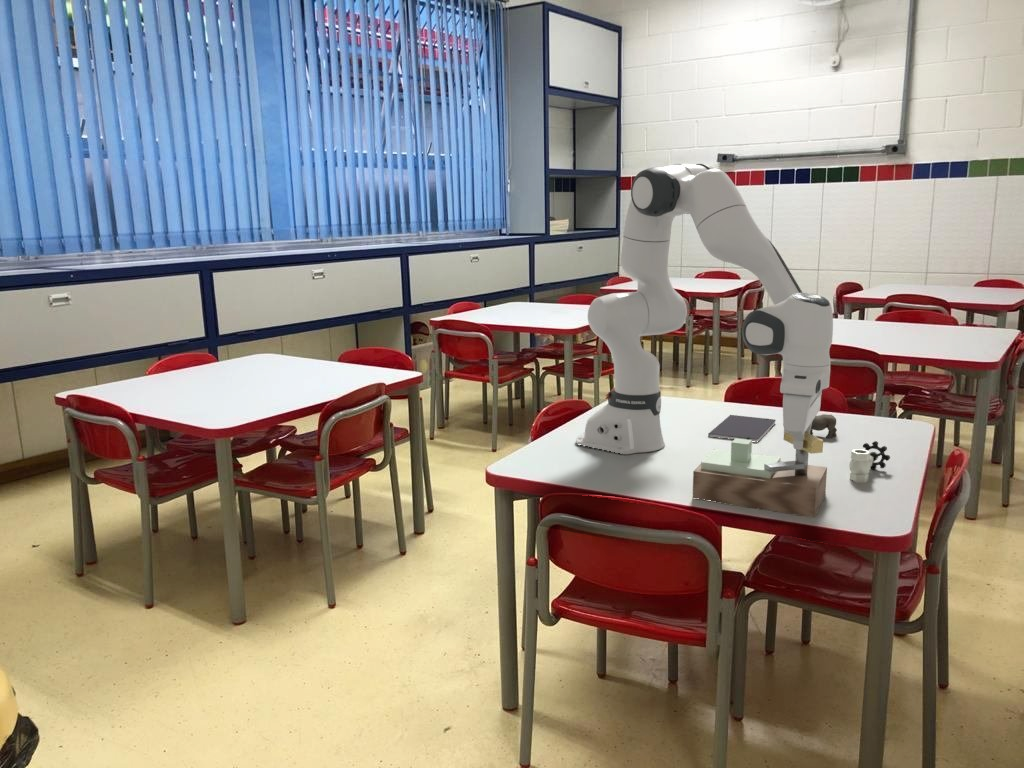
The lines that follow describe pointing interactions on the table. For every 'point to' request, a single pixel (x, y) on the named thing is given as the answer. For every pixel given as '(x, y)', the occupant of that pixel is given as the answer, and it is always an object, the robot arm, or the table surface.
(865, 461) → the valve
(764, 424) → the notebook
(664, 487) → the table surface
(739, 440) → the cover
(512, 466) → the table surface
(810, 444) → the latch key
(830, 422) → the rhino figurine
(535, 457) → the table surface
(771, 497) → the walnut box
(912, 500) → the table surface
